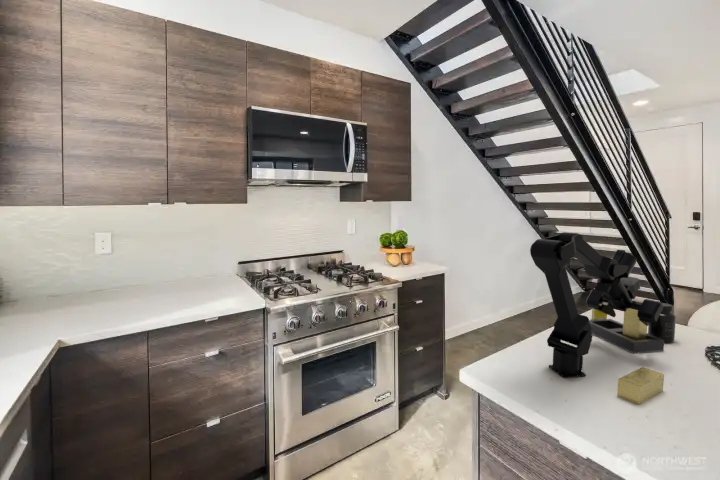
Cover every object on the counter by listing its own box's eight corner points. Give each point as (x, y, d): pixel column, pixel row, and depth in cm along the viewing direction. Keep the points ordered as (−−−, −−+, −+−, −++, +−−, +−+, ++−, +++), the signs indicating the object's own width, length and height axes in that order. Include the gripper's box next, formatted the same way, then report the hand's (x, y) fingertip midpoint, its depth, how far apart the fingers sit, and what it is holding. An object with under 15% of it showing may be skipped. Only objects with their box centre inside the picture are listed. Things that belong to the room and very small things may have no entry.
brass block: (638, 349, 111) (641, 309, 110) (619, 343, 116) (621, 305, 115) (648, 345, 114) (651, 307, 112) (628, 339, 119) (631, 302, 117)
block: (638, 405, 83) (640, 387, 82) (617, 396, 87) (618, 378, 86) (662, 391, 89) (664, 374, 88) (641, 383, 92) (642, 366, 92)
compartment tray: (633, 353, 109) (634, 342, 109) (583, 330, 129) (584, 320, 129) (663, 351, 111) (664, 340, 110) (609, 328, 130) (610, 318, 130)
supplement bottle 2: (672, 338, 121) (675, 303, 119) (676, 345, 115) (679, 308, 114) (646, 334, 124) (648, 300, 123) (648, 340, 119) (651, 305, 117)
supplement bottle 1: (609, 323, 135) (610, 302, 134) (596, 323, 135) (598, 302, 134) (601, 319, 140) (602, 298, 139) (588, 319, 140) (590, 298, 139)
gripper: (663, 274, 100) (678, 307, 106) (593, 264, 117) (610, 293, 123) (646, 305, 97) (662, 338, 104) (577, 290, 114) (595, 319, 120)
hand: (630, 320), depth 113 cm, fingers open, 9 cm apart
